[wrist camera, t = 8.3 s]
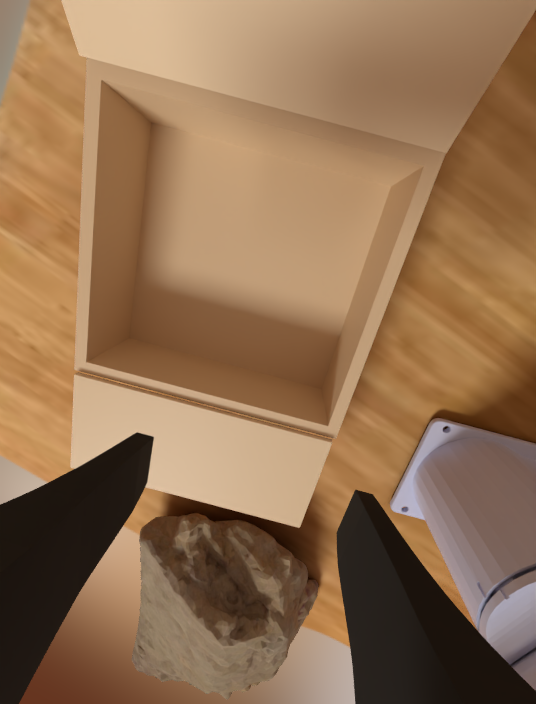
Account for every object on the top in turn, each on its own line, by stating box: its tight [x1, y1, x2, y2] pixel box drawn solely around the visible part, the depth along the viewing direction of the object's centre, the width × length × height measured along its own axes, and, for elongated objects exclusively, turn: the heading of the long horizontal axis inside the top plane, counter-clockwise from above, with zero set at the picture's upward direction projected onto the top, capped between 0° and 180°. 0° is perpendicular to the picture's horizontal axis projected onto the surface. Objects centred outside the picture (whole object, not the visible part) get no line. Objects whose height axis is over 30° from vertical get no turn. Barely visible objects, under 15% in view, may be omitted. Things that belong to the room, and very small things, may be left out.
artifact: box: [132, 513, 319, 699], centre depth 24 cm, size 18×7×15 cm
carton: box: [71, 58, 446, 528], centre depth 17 cm, size 14×19×5 cm
